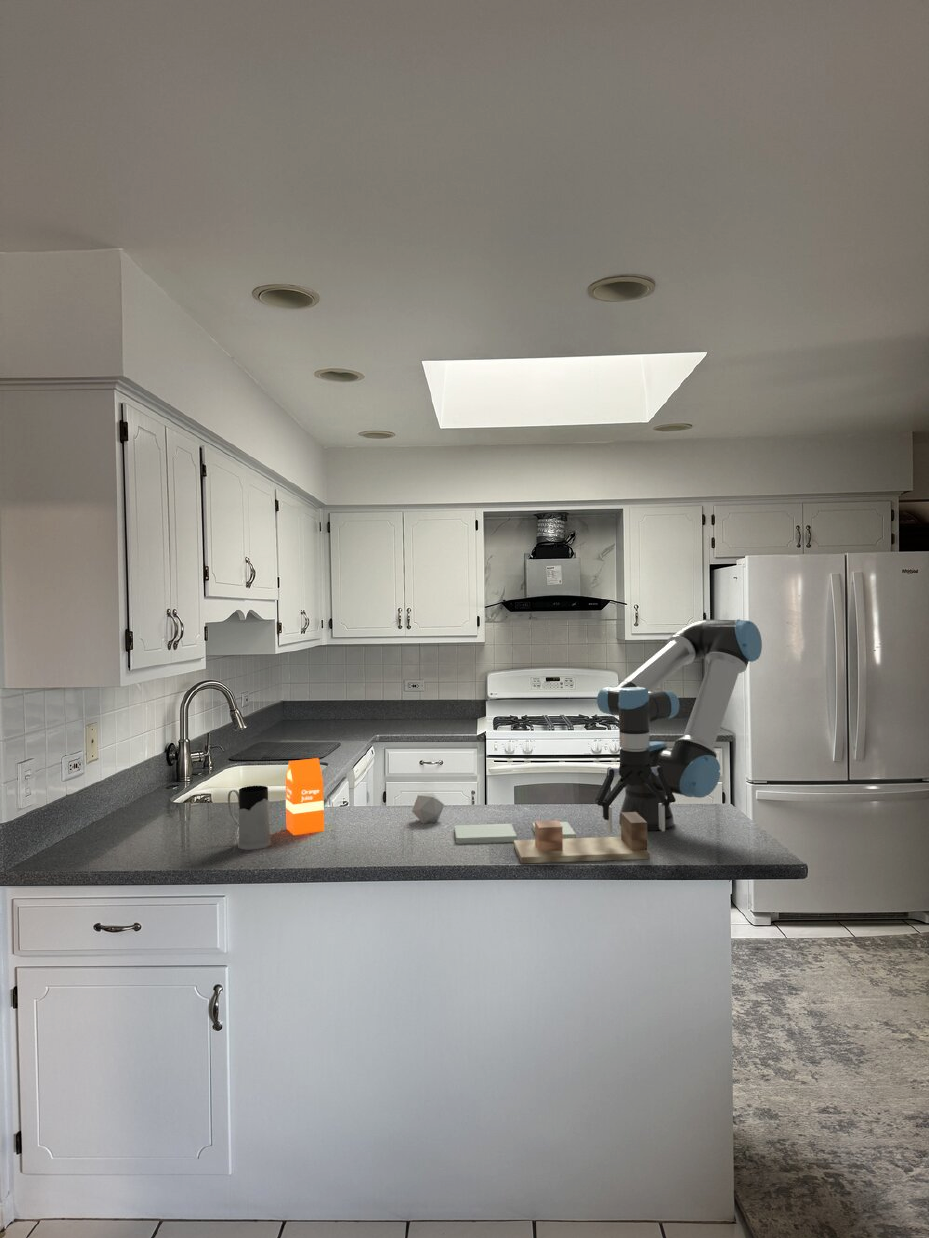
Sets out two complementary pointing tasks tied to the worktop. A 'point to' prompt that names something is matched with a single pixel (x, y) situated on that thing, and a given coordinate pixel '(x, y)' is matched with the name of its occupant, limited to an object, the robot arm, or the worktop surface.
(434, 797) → the grey block
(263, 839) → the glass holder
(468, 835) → the broken strip
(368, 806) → the worktop surface
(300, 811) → the orange juice
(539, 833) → the cube
